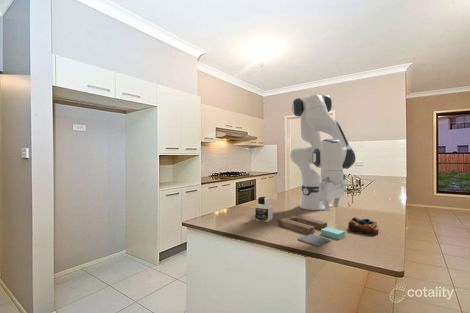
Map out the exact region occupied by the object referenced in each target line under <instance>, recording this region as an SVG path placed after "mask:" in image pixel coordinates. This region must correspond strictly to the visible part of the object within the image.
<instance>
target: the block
mask: <svg viewBox="0 0 470 313" xmlns="http://www.w3.org/2000/svg"><path fill="white" fill-rule="evenodd" d="M320 235H322V236H325V237H330V238H333V239H336V240H342V238H345V236H346V232H345V231H344V230H340V229H336V228H332V227H328V226H327V227H326V228H323V229H320Z"/></svg>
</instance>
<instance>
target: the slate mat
mask: <svg viewBox="0 0 470 313" xmlns="http://www.w3.org/2000/svg"><path fill="white" fill-rule="evenodd" d="M297 240H298V241H300V242H303V243H306V244H308V245H312V246H314V247H319V246H322V245H324V244H326V243H330V242H331V239H329V238H327V237H322V236H319V235H316V234H314V233H312V234H306V235H304V236H302V237H299V238H297Z"/></svg>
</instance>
